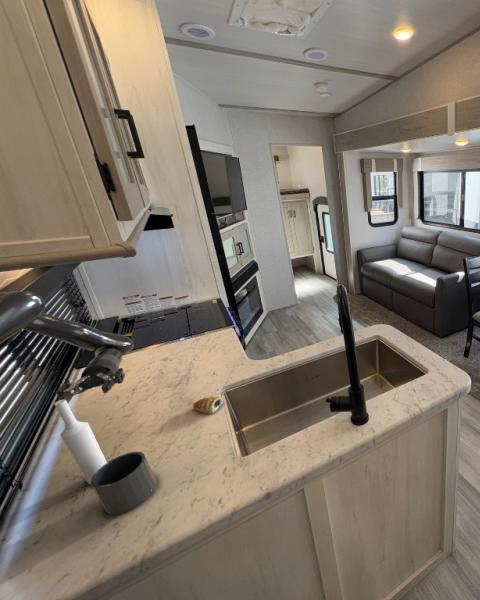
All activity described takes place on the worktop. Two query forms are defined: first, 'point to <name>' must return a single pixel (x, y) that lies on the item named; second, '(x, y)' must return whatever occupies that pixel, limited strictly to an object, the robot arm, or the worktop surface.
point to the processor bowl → (124, 483)
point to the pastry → (208, 404)
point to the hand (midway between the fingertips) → (84, 395)
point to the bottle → (80, 442)
